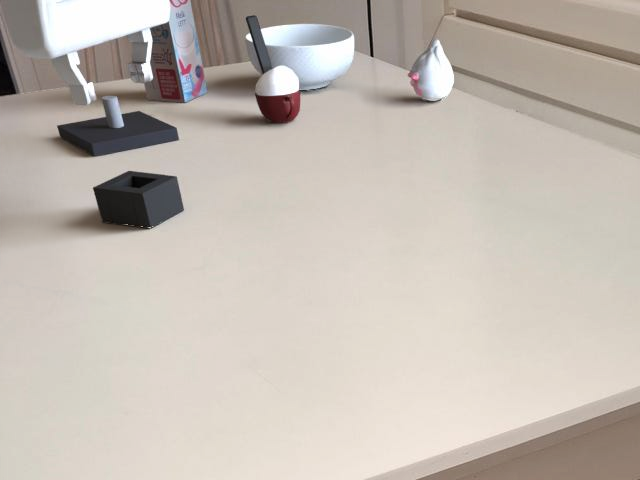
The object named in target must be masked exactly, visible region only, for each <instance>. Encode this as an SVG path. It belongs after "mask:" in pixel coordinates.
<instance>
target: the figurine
mask: <svg viewBox="0 0 640 480" xmlns="http://www.w3.org/2000/svg"><path fill="white" fill-rule="evenodd" d="M407 77H408V78H410V82H409V83H410V84H409V85H411V86H412V88H413V91H414V93H415V94H416V96H418V97H419V98H420V97H421V98H420V99H422V98H425V99H435V98H442V97H445V96H446V97H448V96H449V94H450V92H451V91H452V89H453V85H454V82H455V76H454V71H453V68H452V65H451V62H450V61H449V59H448V58H447V56H446V54H445V53H444V49H443V46H442V45H441V41H440V40H439V39H437V38H434V39H432V40H431V42H430V44H429V46H428V47H427V49H426V50H425V51H424V52H422V53H420V55H419V56H418V57H417V58H416V60H415V61H414V63H413V64H412V66H411V69H410V71H409V72H408V73H407ZM446 97H445V98H446Z"/></svg>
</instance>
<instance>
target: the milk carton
mask: <svg viewBox="0 0 640 480" xmlns="http://www.w3.org/2000/svg"><path fill="white" fill-rule="evenodd" d="M169 3H170V16H169V21H168V22H167V23H164V24H161V25H158V26H155V27H151V28H150V31H151V36H152V40H153V41H152V49H151V58H150V66H151V70H152V75H153V79H152V80H151V81H149V82H146V83H143V85H144V89H145V93H146V97H147V98H146V99H147V101H156V102H157V101H158V102H171V103H184V104H186V103H187V102H190V101H193V100H195V99H197V98H199V97H201V96H203V95H206V94H208V88H207V82H206V77H205V76H206V75H205V71H204V66H203V59H202V56H201V50H200V45H199V39H198V34H197V29H196V23H195V17H194V13H193V7H192V1H191V0H169Z"/></svg>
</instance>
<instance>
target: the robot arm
mask: <svg viewBox="0 0 640 480" xmlns="http://www.w3.org/2000/svg"><path fill="white" fill-rule="evenodd" d="M0 7H1V11H2V14H3V15H2V16H3V18H4V21H5V24H6V27H7V30H8V33H9V36H10V38H11V41H12V43H13V45H14V46H15V47H16V49H17V50H18V51H19V52H20V53H21V54H22V55H23V56H24V57H26V58H28V59H29V58H30V59H38V60H39V59H40V60H51V63H52V66H53V68H54V69H55V70H56V72H57V73H58V74H59V76H60V77H61V78H62V79H63V81H64V83H65V84H67V86H68V89H69V92H70V95H71V99H72V101H73V103H74V104H75V105H76V106H88V105H90V104H93V103H95V102H97V99H98V98H97V95H96V93H95V87H94V83H93V81H86V79H85V78H84V75H83V74H82V73H81V71H80V69H79V67H78V65H80V64H81V62H80V58H79V54H78V51H81V50H84V49H87V48H91V47H95V46H97V45H100V44H103V43H106V42H110V41H113V40H116V39H120V38H122V37H123V38H124V37H125V36H126V39H127V41H128V42H131V61H130V62H127V63H126V64H127V65H126V66H127V69H128V72H129V73H130V74H129V77H130V79H131V81H132V82H133V83H134V84H144V83H146V82H149V81H151V80H152V79H153V75H152V70H151V66H150V58H151V49H152V41H153V40H152V36H151V31H150V28H151V27H155V26H158V25H161V24H164V23H167V22H168V21H169V16H170V3H169V0H0Z"/></svg>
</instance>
